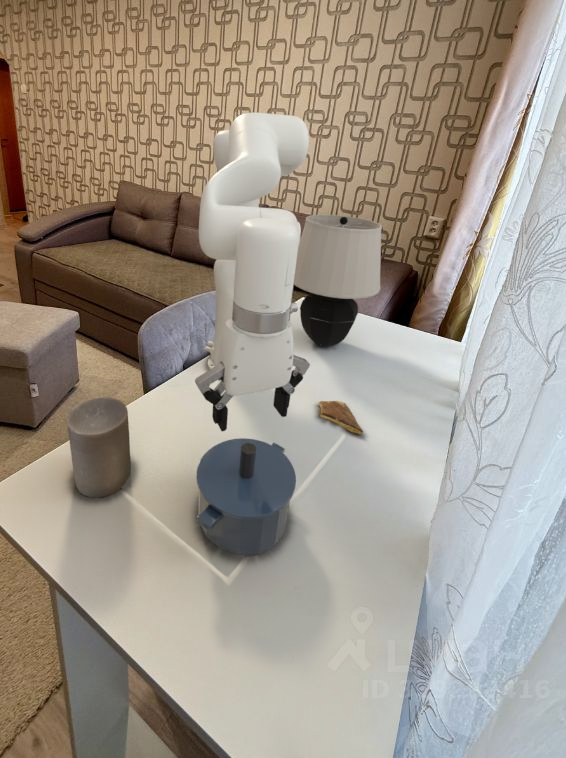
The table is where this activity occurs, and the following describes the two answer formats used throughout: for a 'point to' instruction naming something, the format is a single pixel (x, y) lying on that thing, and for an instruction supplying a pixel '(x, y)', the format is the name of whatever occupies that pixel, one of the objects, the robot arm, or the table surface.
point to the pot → (242, 528)
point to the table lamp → (336, 273)
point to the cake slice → (339, 415)
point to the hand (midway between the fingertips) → (251, 417)
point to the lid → (246, 478)
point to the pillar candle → (99, 446)
